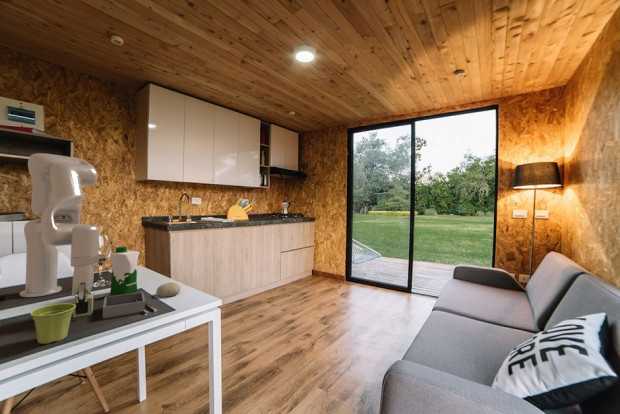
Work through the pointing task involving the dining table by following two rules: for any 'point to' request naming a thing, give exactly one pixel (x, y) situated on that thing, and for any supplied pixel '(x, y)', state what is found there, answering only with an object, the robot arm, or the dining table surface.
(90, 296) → the olive block
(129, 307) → the tray
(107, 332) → the dining table surface
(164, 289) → the sea urchin shell
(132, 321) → the dining table surface
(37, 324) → the plant pot
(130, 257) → the milk carton
